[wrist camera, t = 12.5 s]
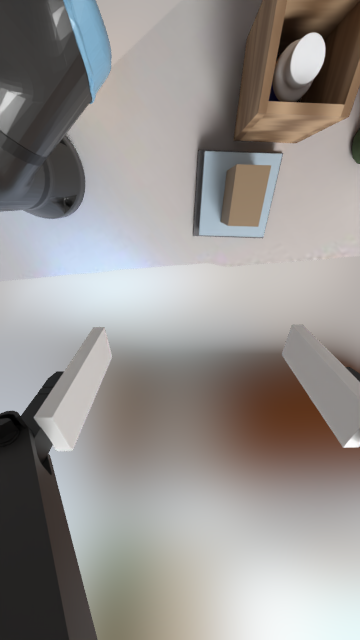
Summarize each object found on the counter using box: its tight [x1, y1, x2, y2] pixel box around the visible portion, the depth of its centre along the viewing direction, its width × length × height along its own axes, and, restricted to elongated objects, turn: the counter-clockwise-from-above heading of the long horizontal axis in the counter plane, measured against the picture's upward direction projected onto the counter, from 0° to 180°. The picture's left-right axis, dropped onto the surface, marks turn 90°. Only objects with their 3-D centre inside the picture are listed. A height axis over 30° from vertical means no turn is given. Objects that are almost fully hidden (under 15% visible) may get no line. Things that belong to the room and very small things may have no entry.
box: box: [234, 0, 360, 143], centre depth 26 cm, size 11×11×12 cm
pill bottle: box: [269, 32, 325, 102], centre depth 27 cm, size 5×5×10 cm
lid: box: [199, 151, 282, 237], centre depth 34 cm, size 13×13×9 cm
